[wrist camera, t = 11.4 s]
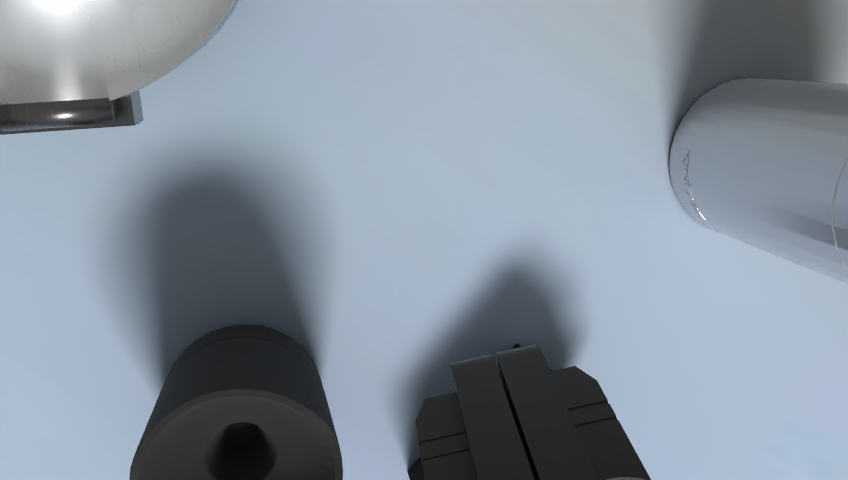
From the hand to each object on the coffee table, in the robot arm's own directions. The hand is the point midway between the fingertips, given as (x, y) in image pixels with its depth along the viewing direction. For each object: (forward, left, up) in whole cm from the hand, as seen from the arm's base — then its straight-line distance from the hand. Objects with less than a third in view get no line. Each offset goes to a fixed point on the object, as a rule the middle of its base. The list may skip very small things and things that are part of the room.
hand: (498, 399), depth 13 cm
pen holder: (+10, +11, -31) cm, 35 cm away
